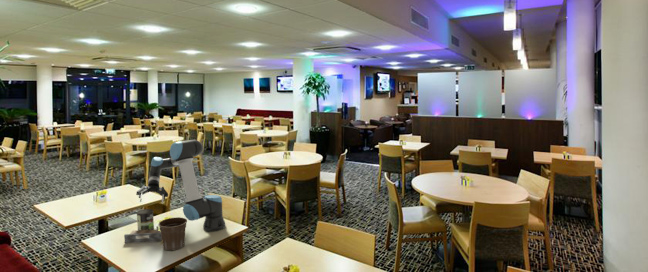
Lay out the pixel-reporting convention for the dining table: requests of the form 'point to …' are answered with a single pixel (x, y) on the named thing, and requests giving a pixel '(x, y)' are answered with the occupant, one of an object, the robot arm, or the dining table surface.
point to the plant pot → (173, 233)
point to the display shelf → (143, 236)
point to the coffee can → (145, 219)
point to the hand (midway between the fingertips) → (151, 200)
